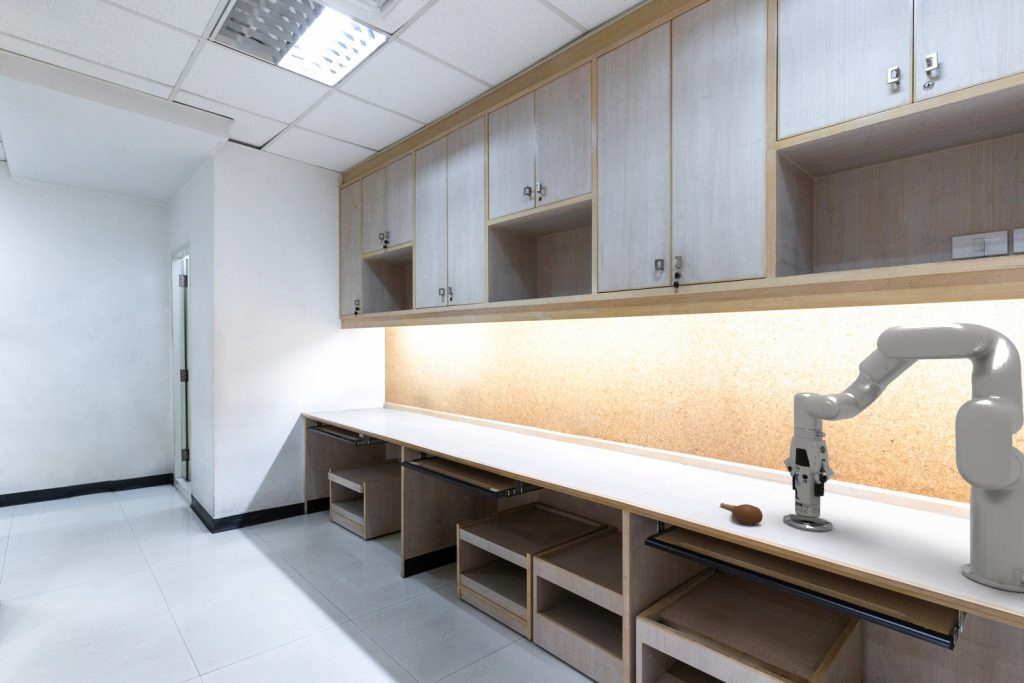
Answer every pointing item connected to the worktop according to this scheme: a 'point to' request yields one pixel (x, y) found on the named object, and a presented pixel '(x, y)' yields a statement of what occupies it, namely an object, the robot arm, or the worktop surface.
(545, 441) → the worktop surface
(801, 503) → the spray can
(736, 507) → the pipe
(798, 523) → the flange
